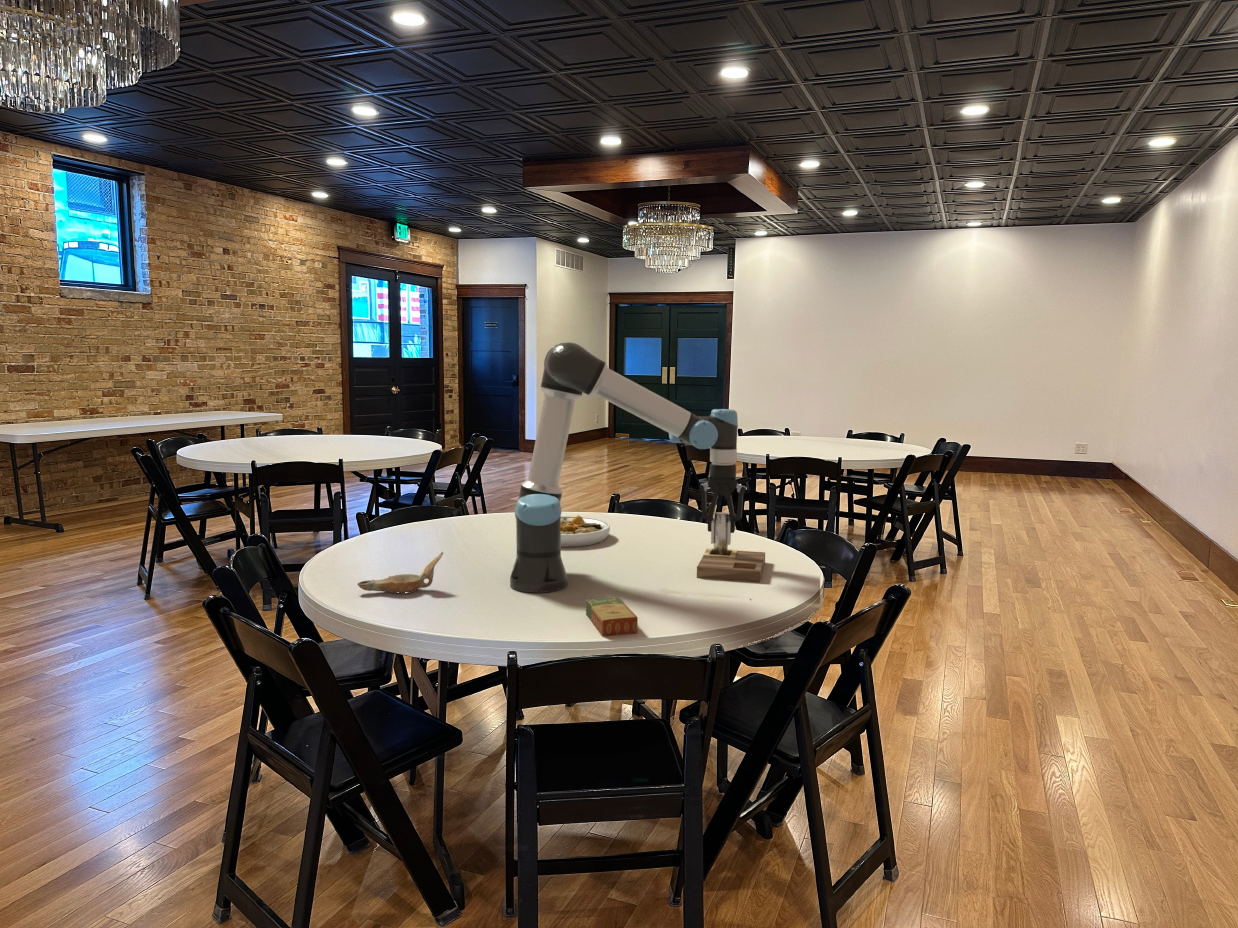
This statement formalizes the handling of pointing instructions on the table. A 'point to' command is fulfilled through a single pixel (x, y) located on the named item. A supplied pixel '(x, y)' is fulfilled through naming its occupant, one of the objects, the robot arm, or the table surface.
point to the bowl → (582, 531)
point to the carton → (611, 616)
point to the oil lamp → (402, 581)
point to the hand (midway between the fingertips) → (720, 543)
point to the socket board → (732, 565)
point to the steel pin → (721, 533)
